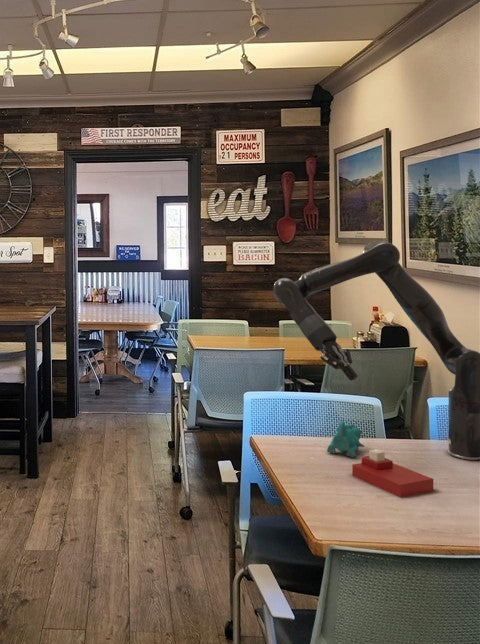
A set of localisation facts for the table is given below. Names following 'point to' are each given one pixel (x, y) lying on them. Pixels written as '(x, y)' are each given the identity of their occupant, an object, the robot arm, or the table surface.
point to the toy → (346, 440)
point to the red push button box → (392, 477)
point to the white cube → (377, 455)
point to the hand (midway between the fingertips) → (354, 378)
